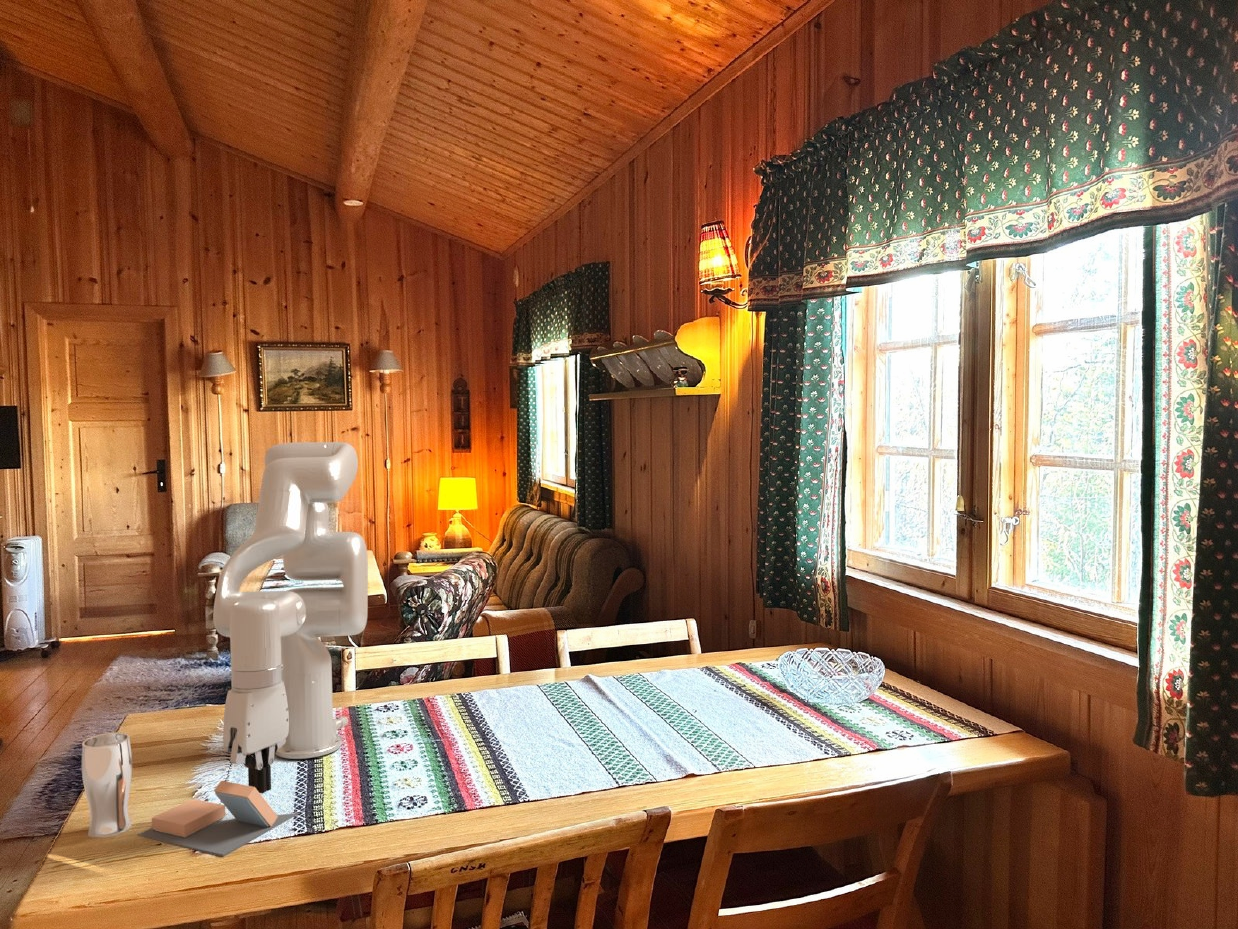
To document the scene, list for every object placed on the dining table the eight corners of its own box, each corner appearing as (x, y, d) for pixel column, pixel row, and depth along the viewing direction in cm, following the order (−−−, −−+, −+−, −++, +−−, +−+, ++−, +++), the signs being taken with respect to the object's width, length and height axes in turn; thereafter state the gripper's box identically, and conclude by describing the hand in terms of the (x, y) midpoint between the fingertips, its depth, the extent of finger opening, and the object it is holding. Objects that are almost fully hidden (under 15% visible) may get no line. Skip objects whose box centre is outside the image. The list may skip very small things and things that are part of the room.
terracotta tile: (193, 799, 153) (151, 818, 145) (225, 805, 150) (184, 825, 142) (193, 811, 153) (152, 831, 145) (225, 818, 150) (184, 838, 143)
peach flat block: (244, 810, 150) (221, 780, 146) (278, 816, 148) (254, 787, 143) (236, 821, 149) (212, 792, 144) (270, 828, 146) (246, 798, 142)
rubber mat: (228, 796, 160) (227, 792, 160) (309, 812, 153) (309, 808, 153) (137, 838, 144) (137, 835, 144) (223, 858, 137) (223, 854, 137)
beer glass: (79, 845, 142) (74, 749, 141) (92, 825, 149) (87, 734, 148) (129, 839, 144) (125, 745, 143) (139, 820, 151) (135, 729, 150)
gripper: (273, 664, 156) (276, 772, 157) (201, 687, 143) (205, 804, 143) (308, 668, 153) (310, 777, 154) (238, 691, 140) (242, 812, 140)
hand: (259, 790), depth 149 cm, fingers closed
